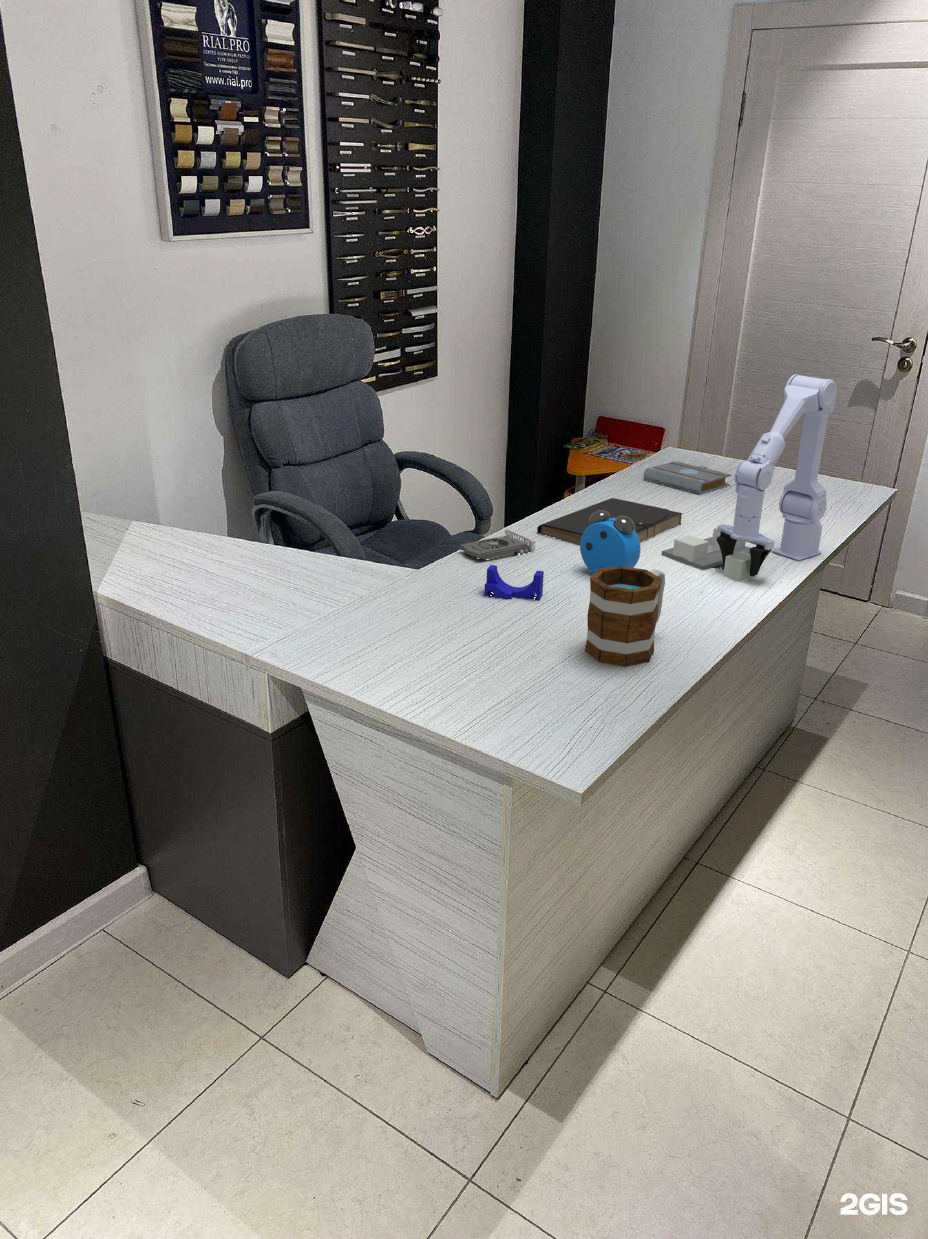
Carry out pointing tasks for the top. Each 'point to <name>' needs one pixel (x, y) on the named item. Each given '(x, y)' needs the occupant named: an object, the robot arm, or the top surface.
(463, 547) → the graphics card
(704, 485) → the book
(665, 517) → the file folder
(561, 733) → the top surface
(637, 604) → the mug
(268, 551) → the top surface
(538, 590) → the blue cradle bracket
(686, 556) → the mounted modules
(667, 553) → the rail board
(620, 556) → the alarm clock
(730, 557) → the block
